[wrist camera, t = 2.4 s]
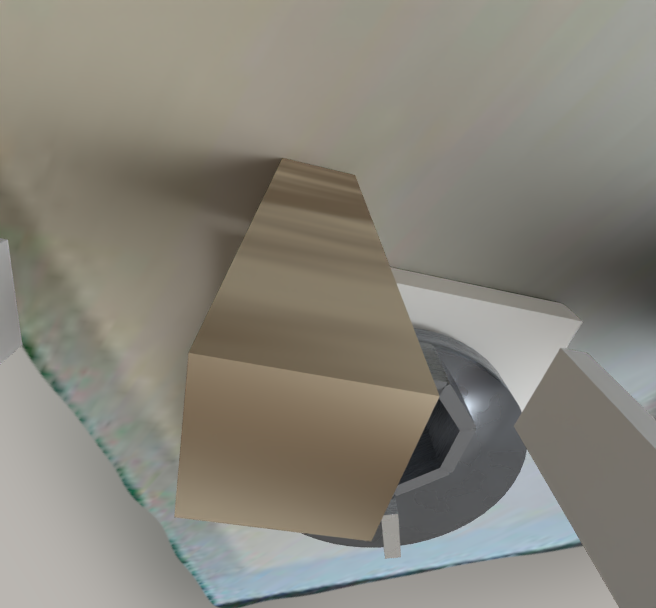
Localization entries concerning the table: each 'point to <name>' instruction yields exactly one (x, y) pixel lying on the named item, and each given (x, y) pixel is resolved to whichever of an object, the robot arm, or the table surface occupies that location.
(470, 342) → the plate
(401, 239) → the table surface
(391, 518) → the dial
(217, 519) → the stick
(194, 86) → the table surface
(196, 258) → the table surface
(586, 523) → the robot arm
